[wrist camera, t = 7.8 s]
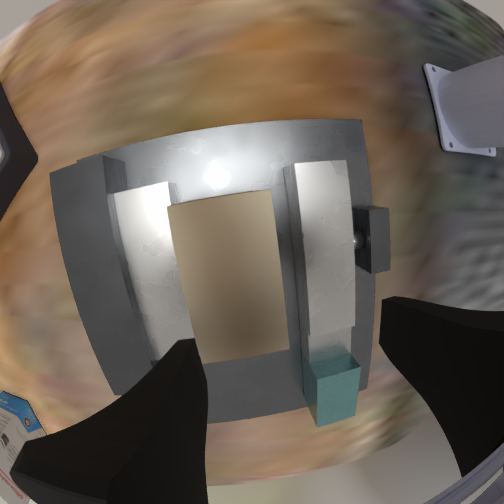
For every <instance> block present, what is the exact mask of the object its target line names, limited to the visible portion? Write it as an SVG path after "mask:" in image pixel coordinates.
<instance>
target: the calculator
mask: <svg viewBox="0 0 504 504" xmlns="http://www.w3.org/2000/svg"><path fill="white" fill-rule="evenodd" d="M37 162H38V155H37V153H36V152H35V150H34V148H33V147H32V145H31V143H30V141H29V140H28V138H27V136H26V134H25V132H24V130H23V129H22V127H21V125H20V124H19V123H18V122H17V121H16V119H15V117H14V114H13V112H12V110H11V107H10V105H9V103H8V100H7V98H6V95H5V93H4V90H3V88H2V85H1V82H0V221H1V219H2V217H3V215H4V214H5V212H6V210H7V208H8V207H9V205H10V203H11V201H12V200H13V198H14V197H15V195H16V193H17V192H18V190H19V189H20V187H21V186H22V184H23V183H24V181H25V180H26V178H27V177H28V175H29V174H30V172H31V171H32V169H33V168H34V167H35V165H36V164H37Z"/></svg>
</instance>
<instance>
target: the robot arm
mask: <svg viewBox="0 0 504 504" xmlns="http://www.w3.org/2000/svg"><path fill="white" fill-rule="evenodd" d="M423 67H424V71H425V74H426V77H427V81H428V84H429V88H430V92H431V96H432V100H433V104H434V108H435V113H436V117H437V122H438V128H439V133H440V139H441V145H442V148H443V149H444V150H445V151H452V152H462V153H471V154H479V155H486V156H496V148H495V147H504V55H501V56H498V57H495V58H492V59H489V60H486V61H483V62H480V63H477V64H474V65H471V66H468V67H465V68H462V69H460V70H457V71H454V72H451V71H448V70H446V69H443V68H440V67H437V66H434V65H431V64H425V65H424V66H423ZM449 144H450V145H449ZM379 344H380V346H381V347H382V349H383V351H384V352H385V354H386V355H387V357H388V358H389V360H390V361H391V362H392V364H393V365H394V366H395V367H396V368H397V369H398V370H399V371H400V373H401V374H402V375H403V376H404V377H405V378H406V379H407V380H408V382H409V383H410V384H411V385H412V386H413V387H414V388H415V389H416V391H417V392H418V393H419V394H420V395H421V396H422V398H423V399H424V400H425V402H426V403H427V405H428V406H429V408H430V409H431V411H432V412H433V414H434V415H435V417H436V419H437V421H438V422H439V424H440V426H441V428H442V429H443V431H444V433H445V435H446V437H447V439H448V441H449V444H450V445H451V448H452V450H453V453H454V455H455V458H456V461H457V463H458V466H459V469H460V472H461V476H462V479H460V480H459V481H458V482H456V483H455V484H453V485H452V486H451V487H449V488H448V489H446V490H445V491H443V492H442V493H440V494H439V495H437V496H435V497H434V498H432V499H431V500H429V501H427V502H426V503H424V504H460V503H461V502H463V501H464V500H465V499H466V498H468V497H469V496H470V495H472V494H473V493H474V492H475V491H476V490H478V489H479V488H480V487H481V486H482V485H484V484H485V483H486V482H487V481H488V480H489V479H490V478H491V477H493V476H494V475H495V474H496V473H497V472H498V471H499V470H500V469H501V468H502V467H503V466H504V311H478V310H467V309H461V308H454V307H449V306H444V305H439V304H434V303H430V302H425V301H420V300H416V299H411V298H405V297H398V296H393V297H390V298H386V299H383V300H382V308H381V324H380V336H379ZM207 417H208V386H207V379H206V376H205V372H204V369H203V366H202V362H201V359H200V355H199V352H198V348H197V344H196V341H195V338H190V339H181V340H178V341H177V342H176V343H175V344H174V345H173V346H172V347H171V348H170V349H169V350H168V352H167V353H166V354H165V355H164V356H163V357H162V358H161V359H160V360H159V361H158V363H157V364H156V365H155V366H154V367H153V368H152V369H151V370H150V371H149V372H148V373H147V374H146V375H145V376H144V377H143V378H142V379H141V380H140V381H139V382H138V383H137V384H136V385H134V386H133V387H132V388H131V389H130V390H129V391H127V392H126V393H125V394H124V395H122V396H121V397H120V398H118V399H117V400H116V401H114V402H113V403H112V404H110V405H109V406H107V407H105V408H104V409H102V410H101V411H99V412H97V413H96V414H94V415H92V416H91V417H89V418H87V419H85V420H83V421H81V422H79V423H77V424H75V425H73V426H71V427H68V428H66V429H64V430H61V431H58V432H56V433H53V434H50V435H46V436H43V437H40V438H36V439H33V440H28V441H26V442H25V443H24V445H23V447H22V449H21V450H20V452H19V454H18V456H17V458H16V460H15V462H14V464H13V466H12V468H11V470H10V472H9V474H10V476H11V478H12V480H13V482H14V483H15V484H16V485H17V486H18V488H20V489H21V490H22V491H23V492H24V493H25V494H26V495H27V496H28V497H30V498H31V499H32V500H33V501H35V502H36V503H37V504H208V496H207V486H206V473H205V443H206V430H207ZM471 504H504V467H503V473H502V474H501V475H500V476H499V477H498V478H497V479H496V480H495V481H494V482H493V483H492V484H491V486H489V487H488V488H487V489H486V490H485V491H484V492H483V493H482V494H481V495H480V496H479V497H478V498H476V499H475V500H474V501H473V502H472V503H471Z"/></svg>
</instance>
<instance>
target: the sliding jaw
mask: <svg viewBox="0 0 504 504" xmlns="http://www.w3.org/2000/svg"><path fill="white" fill-rule="evenodd" d="M283 169H284V177H285V184H286V192H287V200H288V208H289V216H290V225H291V234H292V243H293V252H294V262H295V273H296V283H297V295H298V307H299V320H300V334H301V349H302V366H303V386H304V398H305V400H306V403H307V405H308V407H309V410H310V412H311V415H312V417H313V419H314V422H315V424H316V426H317V427H320V426H323V425H327V424H330V423H334V422H337V421H340V420H343V419H346V418H349V417H352V416H355V411H356V404H357V396H358V389H359V380H360V371H361V366H360V365H359V364H358V362H357V361H356V360H355V359H354V357H353V356H352V355H351V353H350V352H351V327H353V326H355V255H354V235H353V220H352V208H351V197H350V187H349V179H348V170H347V163H346V160H335V161H319V162H305V163H294V164H291V165H289V166H286V167H283Z"/></svg>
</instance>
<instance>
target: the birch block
mask: <svg viewBox="0 0 504 504" xmlns="http://www.w3.org/2000/svg"><path fill="white" fill-rule="evenodd" d="M166 209H167V215H168V220H169V226H170V231H171V237H172V242H173V247H174V252H175V257H176V261H177V266H178V271H179V275H180V280H181V284H182V289H183V293H184V297H185V301H186V305H187V309H188V313H189V317H190V321H191V325H192V329H193V332H194V336H195V340H196V343H197V347H198V351H199V354H200V357H201V361H202V364H206V363H213V362H220V361H227V360H233V359H240V358H246V357H251V356H257V355H262V354H267V353H272V352H277V351H282V350H287V349H290V348H289V337H288V327H287V318H286V309H285V299H284V290H283V282H282V273H281V265H280V256H279V248H278V240H277V233H276V225H275V217H274V210H273V202H272V195H271V189H269V190H254V191H246V192H240V193H233V194H227V195H221V196H214V197H208V198H203V199H197V200H191V201H186V202H182V203H178V204H174V205H170V206H166Z"/></svg>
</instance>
